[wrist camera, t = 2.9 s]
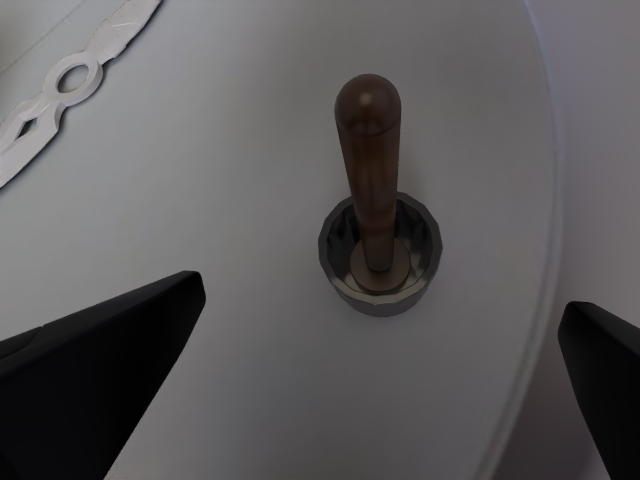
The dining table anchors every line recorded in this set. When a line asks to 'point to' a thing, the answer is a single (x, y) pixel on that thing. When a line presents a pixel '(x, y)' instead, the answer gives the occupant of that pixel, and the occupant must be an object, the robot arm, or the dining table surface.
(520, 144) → the dining table surface
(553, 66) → the dining table surface
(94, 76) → the knife
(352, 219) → the utensil holder
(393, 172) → the brown wooden rod
